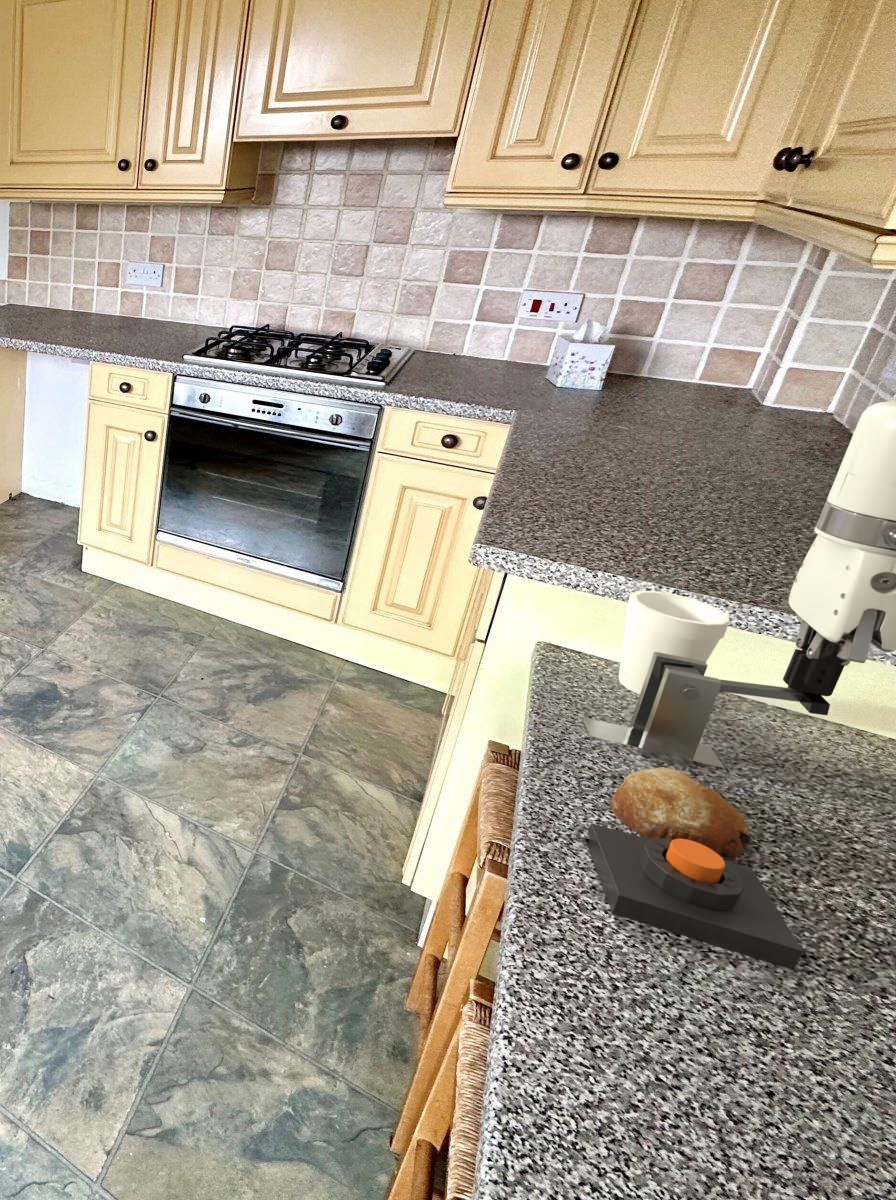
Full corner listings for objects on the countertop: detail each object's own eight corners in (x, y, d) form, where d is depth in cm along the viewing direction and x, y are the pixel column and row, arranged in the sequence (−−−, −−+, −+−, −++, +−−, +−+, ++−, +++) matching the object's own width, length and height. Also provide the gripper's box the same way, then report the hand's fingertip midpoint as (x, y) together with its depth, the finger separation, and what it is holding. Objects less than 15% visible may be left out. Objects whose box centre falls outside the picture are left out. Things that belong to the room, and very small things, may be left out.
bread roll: (626, 817, 86) (604, 749, 86) (757, 830, 79) (733, 754, 79) (615, 866, 80) (592, 791, 80) (757, 884, 72) (731, 802, 72)
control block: (744, 885, 73) (758, 852, 72) (794, 971, 64) (811, 934, 63) (584, 840, 78) (595, 808, 77) (611, 913, 70) (624, 878, 68)
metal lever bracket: (706, 756, 91) (742, 661, 87) (737, 804, 83) (779, 702, 79) (579, 726, 96) (607, 635, 92) (597, 769, 89) (629, 671, 85)
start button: (710, 862, 71) (716, 847, 70) (726, 890, 68) (732, 874, 67) (659, 848, 73) (665, 833, 72) (672, 874, 69) (678, 859, 69)
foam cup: (601, 667, 109) (627, 584, 105) (689, 689, 104) (720, 603, 100) (606, 698, 102) (635, 610, 98) (701, 724, 97) (736, 632, 93)
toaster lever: (803, 695, 84) (807, 676, 83) (826, 720, 80) (831, 699, 79) (656, 677, 89) (659, 658, 89) (671, 699, 85) (674, 679, 85)
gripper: (983, 564, 68) (897, 739, 74) (886, 511, 81) (819, 665, 86) (863, 547, 71) (790, 716, 77) (787, 499, 84) (730, 647, 90)
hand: (805, 688), depth 82 cm, fingers closed
